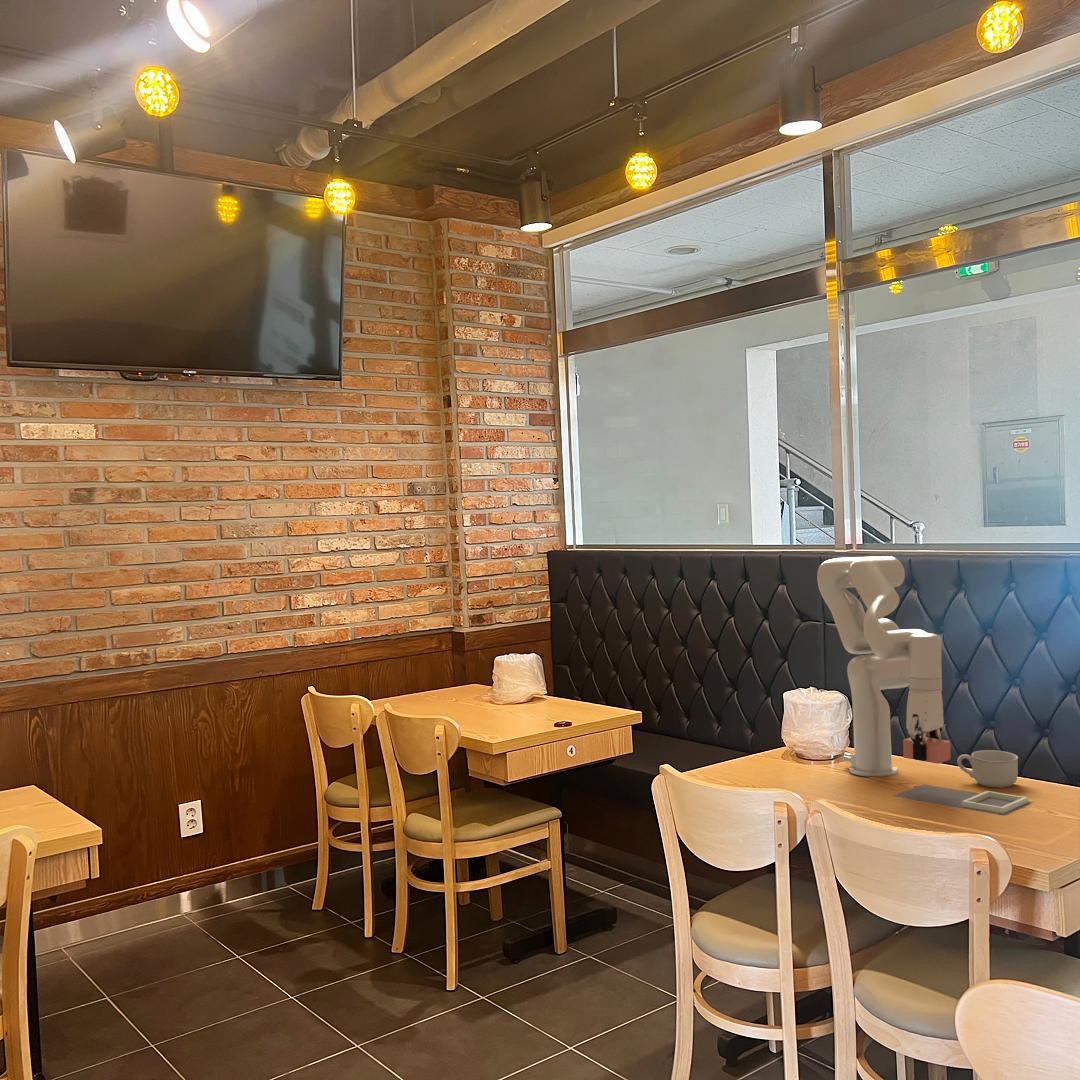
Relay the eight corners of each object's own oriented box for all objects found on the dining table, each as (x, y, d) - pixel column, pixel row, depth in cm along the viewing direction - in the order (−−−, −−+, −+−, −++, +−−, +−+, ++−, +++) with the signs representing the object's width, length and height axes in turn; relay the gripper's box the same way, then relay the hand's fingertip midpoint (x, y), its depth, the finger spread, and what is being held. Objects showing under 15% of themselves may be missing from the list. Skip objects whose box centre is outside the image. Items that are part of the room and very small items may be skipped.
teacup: (1022, 783, 258) (1021, 752, 258) (1015, 793, 249) (1014, 760, 249) (963, 778, 266) (962, 747, 266) (954, 787, 257) (953, 755, 257)
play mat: (893, 797, 249) (893, 795, 249) (924, 786, 259) (924, 784, 259) (1004, 817, 229) (1004, 815, 229) (1033, 804, 239) (1033, 802, 239)
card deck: (903, 757, 252) (903, 739, 252) (915, 753, 256) (915, 735, 256) (938, 763, 245) (938, 745, 245) (950, 759, 249) (950, 740, 249)
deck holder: (962, 806, 237) (961, 801, 237) (987, 795, 246) (987, 790, 246) (1003, 813, 230) (1003, 808, 230) (1028, 802, 238) (1027, 797, 238)
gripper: (928, 677, 259) (930, 748, 259) (892, 687, 247) (894, 761, 248) (957, 681, 253) (958, 753, 254) (922, 690, 242) (923, 766, 242)
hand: (926, 756), depth 251 cm, fingers closed on card deck, 6 cm apart
